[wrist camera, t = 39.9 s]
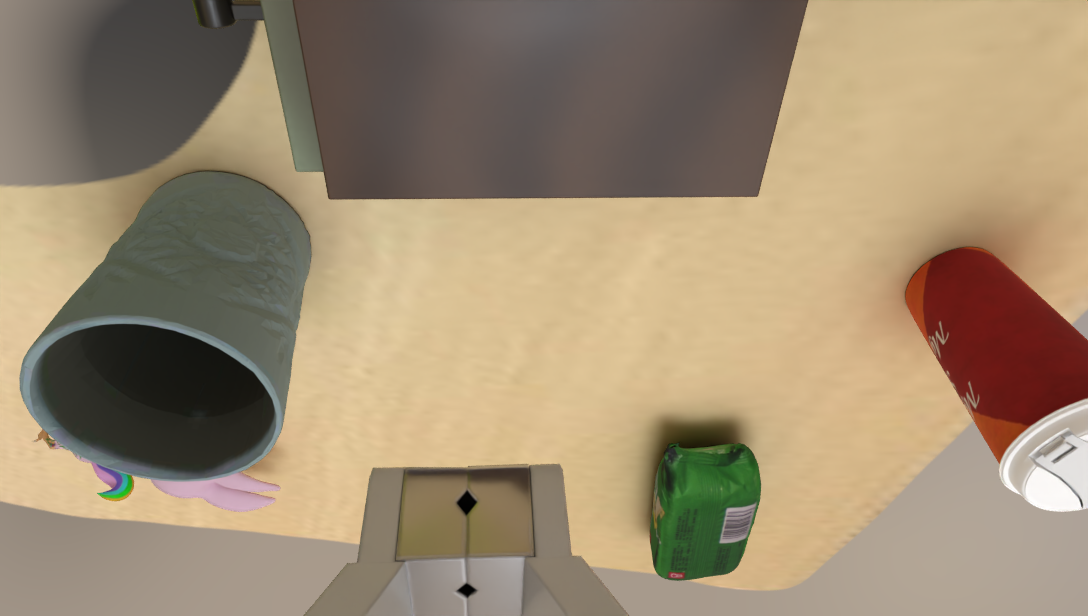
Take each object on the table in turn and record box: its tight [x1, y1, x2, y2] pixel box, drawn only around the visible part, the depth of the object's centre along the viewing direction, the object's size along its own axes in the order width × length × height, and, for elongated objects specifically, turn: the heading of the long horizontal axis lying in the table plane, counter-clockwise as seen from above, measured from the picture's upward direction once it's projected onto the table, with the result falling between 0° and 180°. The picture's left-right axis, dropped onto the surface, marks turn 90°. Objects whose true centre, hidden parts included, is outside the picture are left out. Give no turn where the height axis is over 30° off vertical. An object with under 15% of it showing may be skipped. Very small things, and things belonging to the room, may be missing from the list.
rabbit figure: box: [33, 430, 280, 512], centre depth 46 cm, size 6×6×15 cm
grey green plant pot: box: [20, 171, 311, 482], centre depth 34 cm, size 10×10×12 cm
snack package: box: [650, 442, 761, 581], centre depth 54 cm, size 7×16×5 cm, turn 1°
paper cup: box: [905, 247, 1088, 511], centre depth 39 cm, size 8×8×14 cm
